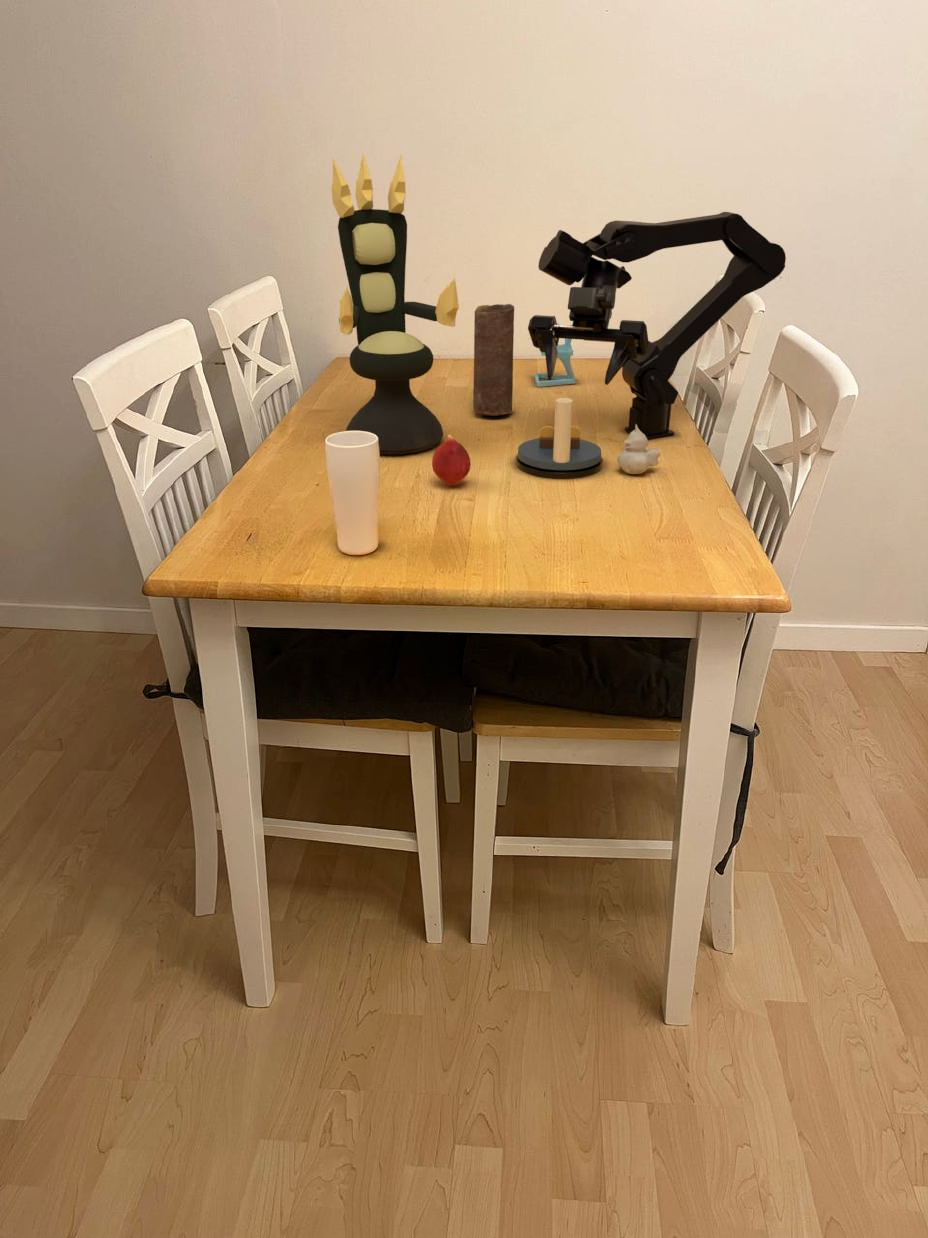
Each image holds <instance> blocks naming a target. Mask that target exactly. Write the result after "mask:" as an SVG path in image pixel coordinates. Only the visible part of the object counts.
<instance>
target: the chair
mask: <svg viewBox="0 0 928 1238" xmlns="http://www.w3.org/2000/svg"><path fill="white" fill-rule="evenodd" d="M557 325H561V324H560V323H557ZM572 340H573V339H564V344H563V343H562V344H558V346H557V350H558V354H557V359H559V360H560V361H561V363H562V365H563V368H564V369H565V372H566V374H556V373H554V374H553V377H552V379H551V380H548V375H547V373H543V372H537V373H536V372H535V373H534V380H535V381H534V382H535V385H536V387H538V388H539V387H540V388H541V387H549V386H550V387H551V386H563V385H574V384H576V377H575V373H574V370H573V367H572V364H571V357H572V356H574V349H573V348H572V344H571V343H572ZM540 355H541V356H542V357H543V356H545V353H543V352H541V351H540ZM540 379H545V380H541V381H540Z"/></svg>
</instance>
